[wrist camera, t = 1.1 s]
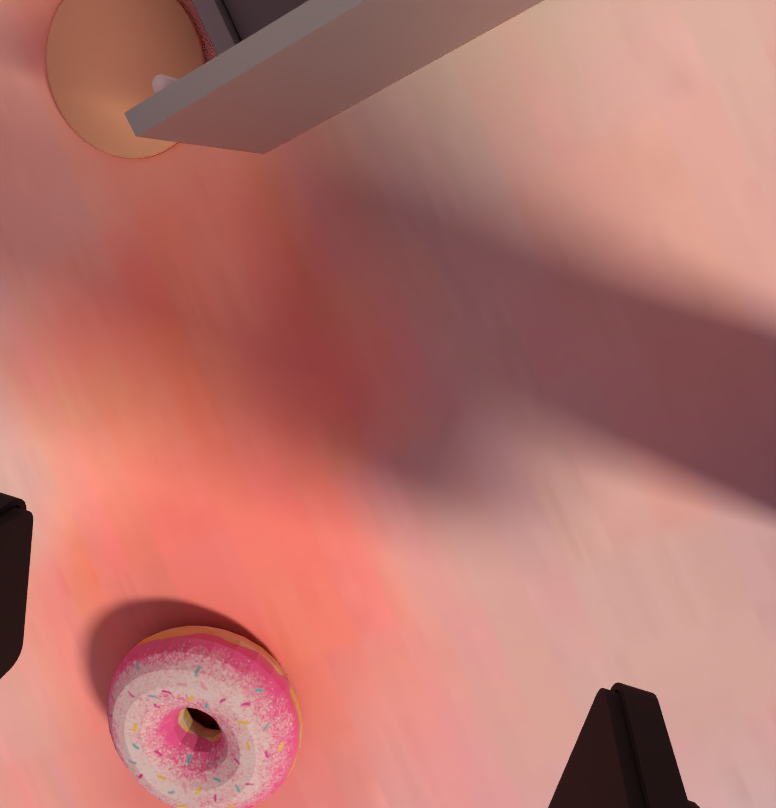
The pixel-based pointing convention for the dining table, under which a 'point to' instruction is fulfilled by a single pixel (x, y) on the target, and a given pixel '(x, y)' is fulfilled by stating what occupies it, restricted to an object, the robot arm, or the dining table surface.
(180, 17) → the pad
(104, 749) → the dining table surface
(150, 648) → the donut
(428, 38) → the case
